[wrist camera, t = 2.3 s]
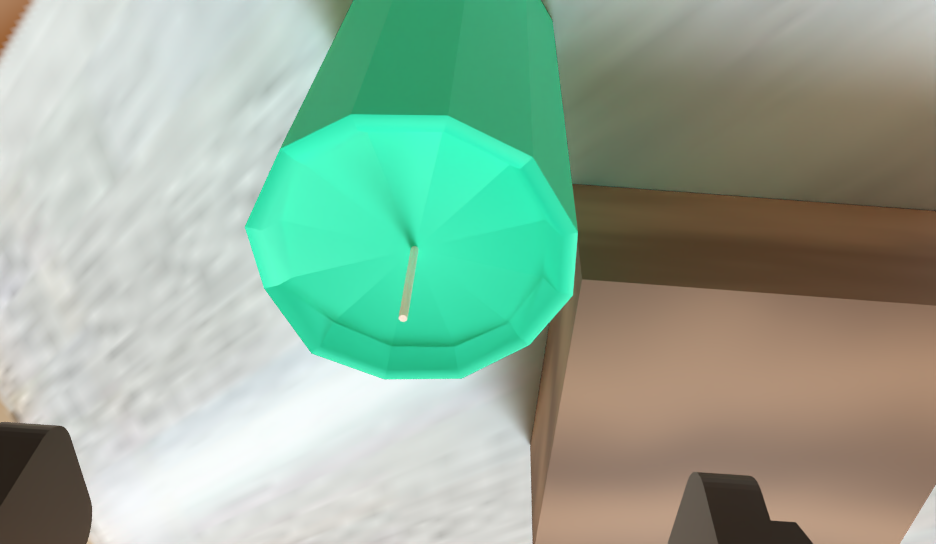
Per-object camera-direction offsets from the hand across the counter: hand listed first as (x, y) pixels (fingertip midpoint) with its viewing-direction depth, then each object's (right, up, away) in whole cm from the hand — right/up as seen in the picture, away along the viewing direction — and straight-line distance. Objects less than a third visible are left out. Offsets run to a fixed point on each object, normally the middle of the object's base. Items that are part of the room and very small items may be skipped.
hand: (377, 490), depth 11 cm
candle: (+1, +9, +13) cm, 16 cm away
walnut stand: (+10, 0, +18) cm, 21 cm away
